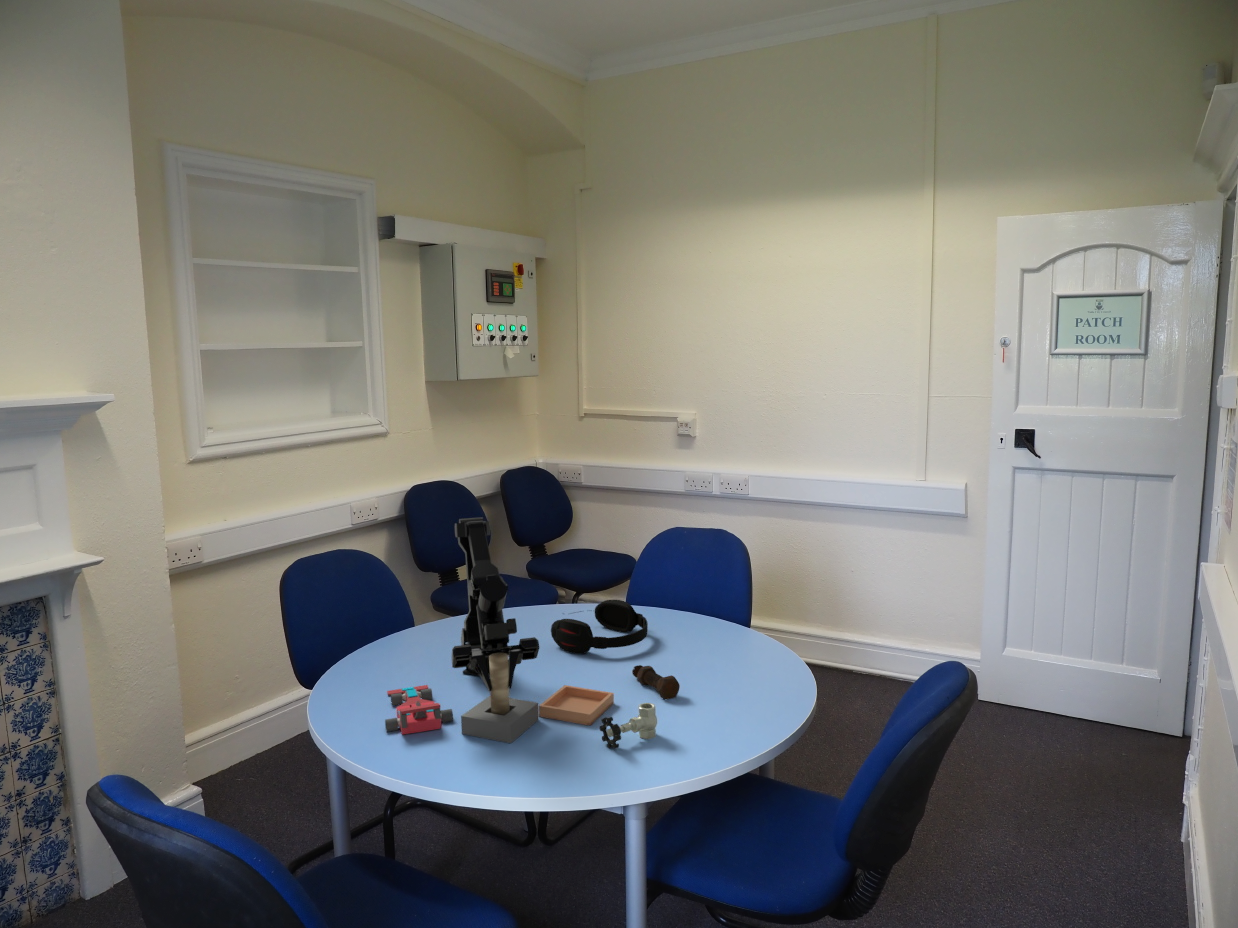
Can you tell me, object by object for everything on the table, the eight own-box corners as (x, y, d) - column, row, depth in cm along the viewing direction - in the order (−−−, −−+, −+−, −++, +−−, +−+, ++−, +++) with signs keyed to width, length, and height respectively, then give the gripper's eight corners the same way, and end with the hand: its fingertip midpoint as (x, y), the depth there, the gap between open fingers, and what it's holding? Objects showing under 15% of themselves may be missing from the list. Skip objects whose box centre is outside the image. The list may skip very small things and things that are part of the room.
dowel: (487, 720, 180) (485, 657, 179) (497, 712, 184) (495, 651, 182) (503, 723, 179) (501, 660, 177) (513, 715, 182) (511, 653, 181)
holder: (461, 733, 179) (461, 715, 178) (491, 711, 189) (491, 694, 189) (510, 743, 174) (510, 724, 173) (538, 719, 185) (538, 702, 184)
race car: (436, 663, 204) (454, 702, 181) (437, 687, 205) (455, 729, 182) (376, 672, 199) (386, 713, 176) (377, 696, 200) (388, 740, 177)
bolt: (640, 684, 209) (673, 703, 196) (624, 678, 206) (657, 697, 193) (649, 662, 210) (683, 680, 197) (634, 656, 207) (667, 673, 194)
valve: (646, 727, 181) (599, 742, 174) (645, 698, 180) (598, 712, 173) (664, 738, 175) (617, 754, 169) (664, 708, 174) (616, 723, 168)
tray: (539, 716, 187) (538, 705, 186) (564, 695, 198) (564, 684, 198) (590, 725, 182) (590, 714, 181) (613, 703, 193) (613, 692, 193)
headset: (566, 623, 252) (565, 594, 251) (653, 625, 249) (653, 596, 247) (544, 656, 225) (543, 624, 224) (642, 659, 221) (641, 627, 220)
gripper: (450, 610, 179) (458, 678, 170) (536, 601, 185) (548, 667, 176) (448, 634, 188) (455, 700, 179) (530, 625, 193) (541, 689, 184)
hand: (500, 689), depth 179 cm, fingers closed on dowel, 4 cm apart
